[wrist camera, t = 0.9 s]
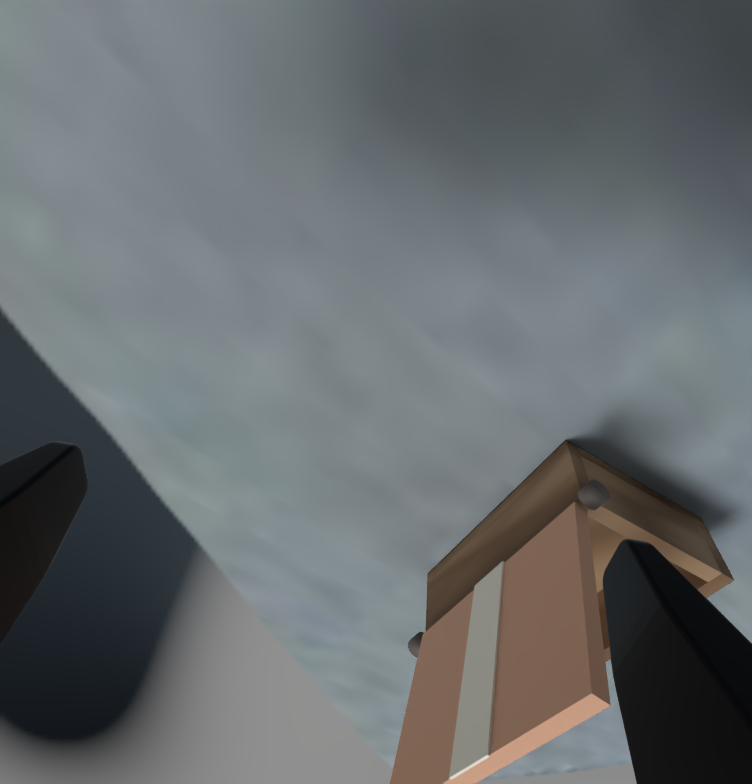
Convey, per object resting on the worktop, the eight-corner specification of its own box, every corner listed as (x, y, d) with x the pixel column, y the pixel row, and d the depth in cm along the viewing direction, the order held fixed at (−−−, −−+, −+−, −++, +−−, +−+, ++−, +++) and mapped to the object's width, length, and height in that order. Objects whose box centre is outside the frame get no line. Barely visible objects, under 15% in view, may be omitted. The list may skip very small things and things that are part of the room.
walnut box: (716, 507, 25) (761, 586, 22) (536, 638, 32) (548, 716, 28) (570, 422, 24) (593, 492, 20) (412, 578, 30) (407, 653, 27)
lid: (610, 707, 14) (589, 693, 14) (395, 830, 20) (379, 819, 20) (587, 509, 21) (572, 499, 21) (433, 640, 27) (421, 632, 27)
